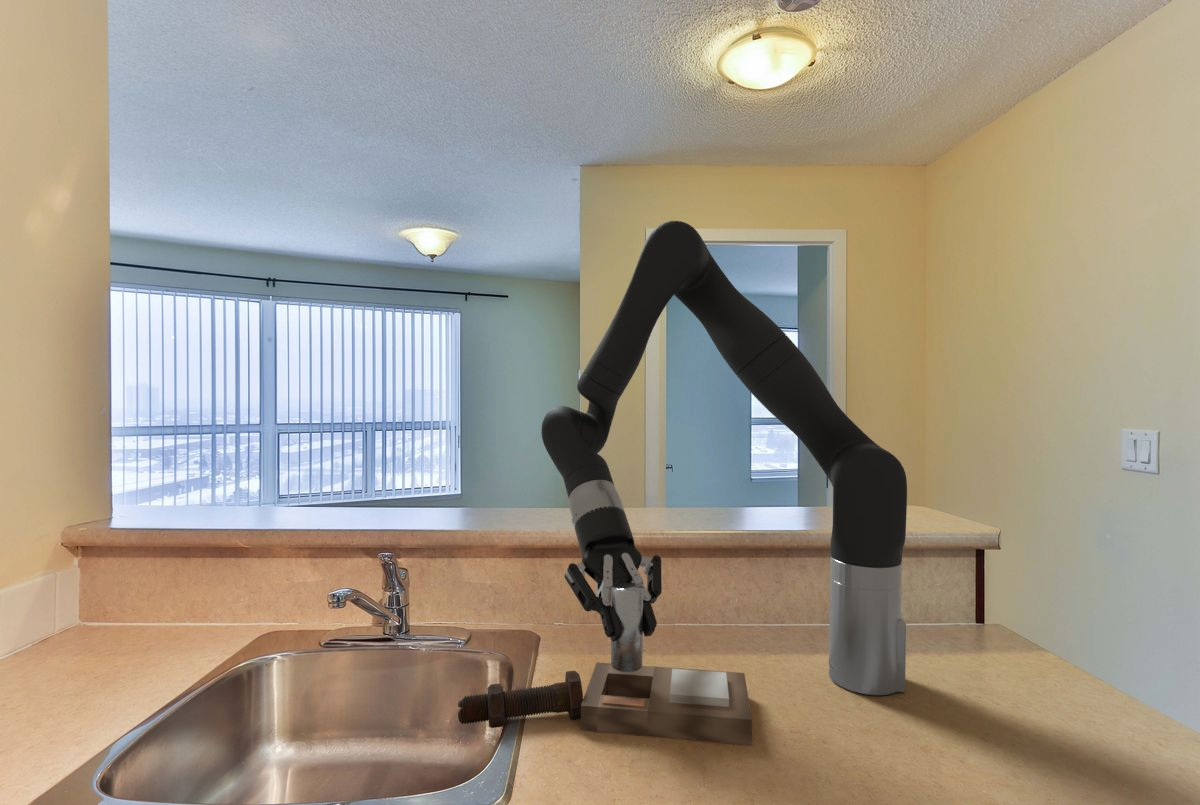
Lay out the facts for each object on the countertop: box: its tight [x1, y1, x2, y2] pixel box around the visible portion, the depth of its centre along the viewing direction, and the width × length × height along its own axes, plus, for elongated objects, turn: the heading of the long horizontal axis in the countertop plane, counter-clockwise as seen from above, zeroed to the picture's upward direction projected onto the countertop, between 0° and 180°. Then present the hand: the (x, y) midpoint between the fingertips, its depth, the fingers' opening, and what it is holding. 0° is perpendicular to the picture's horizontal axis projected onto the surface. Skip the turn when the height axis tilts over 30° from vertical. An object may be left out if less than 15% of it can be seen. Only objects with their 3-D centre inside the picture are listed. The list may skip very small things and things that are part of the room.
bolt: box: [457, 670, 584, 729], centre depth 77 cm, size 6×5×15 cm
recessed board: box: [580, 661, 753, 747], centre depth 79 cm, size 20×12×4 cm, turn 81°
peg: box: [610, 582, 644, 672], centre depth 80 cm, size 4×4×10 cm
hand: (633, 635), depth 78 cm, fingers closed on peg, 4 cm apart
